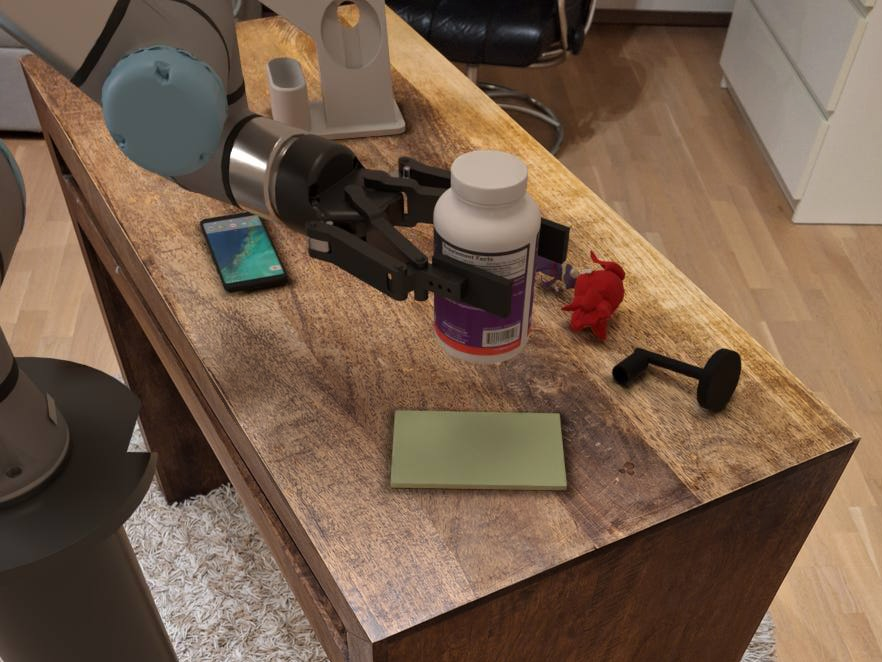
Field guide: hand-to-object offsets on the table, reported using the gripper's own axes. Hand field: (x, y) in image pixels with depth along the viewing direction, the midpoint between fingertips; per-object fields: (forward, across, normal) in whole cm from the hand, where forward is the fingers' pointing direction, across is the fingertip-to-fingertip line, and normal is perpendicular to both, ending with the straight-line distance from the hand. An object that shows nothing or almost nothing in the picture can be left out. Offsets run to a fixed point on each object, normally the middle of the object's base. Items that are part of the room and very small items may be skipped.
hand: (538, 272), depth 68 cm
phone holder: (-55, -44, -20) cm, 73 cm away
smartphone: (-44, -12, -20) cm, 49 cm away
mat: (-4, +1, -20) cm, 20 cm away
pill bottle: (-5, 0, -8) cm, 9 cm away
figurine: (-8, -24, -20) cm, 32 cm away
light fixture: (+7, -16, -20) cm, 26 cm away
